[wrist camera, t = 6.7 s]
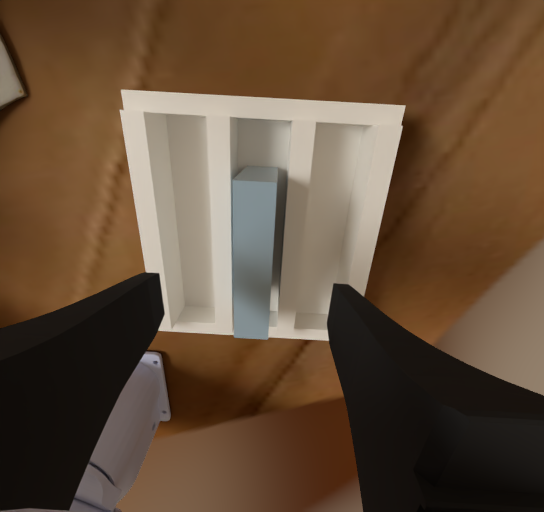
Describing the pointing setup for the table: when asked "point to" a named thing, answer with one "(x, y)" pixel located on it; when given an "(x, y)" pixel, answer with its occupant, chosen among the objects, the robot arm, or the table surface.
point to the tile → (253, 249)
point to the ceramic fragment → (9, 78)
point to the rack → (289, 199)
